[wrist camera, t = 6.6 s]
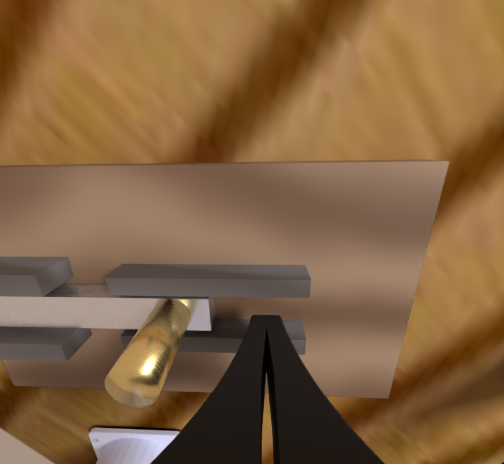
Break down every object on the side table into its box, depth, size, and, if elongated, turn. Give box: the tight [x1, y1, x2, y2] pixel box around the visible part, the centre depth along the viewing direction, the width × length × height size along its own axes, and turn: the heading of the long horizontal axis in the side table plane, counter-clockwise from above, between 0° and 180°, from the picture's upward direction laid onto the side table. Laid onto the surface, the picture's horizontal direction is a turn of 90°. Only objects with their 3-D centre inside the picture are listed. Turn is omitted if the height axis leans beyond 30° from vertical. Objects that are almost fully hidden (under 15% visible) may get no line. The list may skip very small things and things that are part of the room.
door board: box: [0, 160, 449, 398], centre depth 13 cm, size 15×26×4 cm, turn 91°
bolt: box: [0, 284, 216, 407], centre depth 11 cm, size 2×12×5 cm, turn 91°
